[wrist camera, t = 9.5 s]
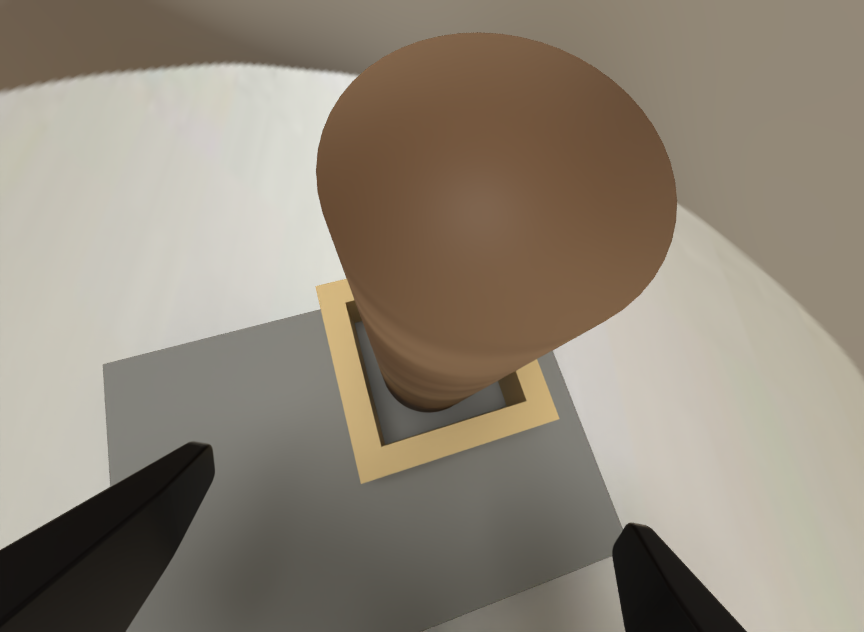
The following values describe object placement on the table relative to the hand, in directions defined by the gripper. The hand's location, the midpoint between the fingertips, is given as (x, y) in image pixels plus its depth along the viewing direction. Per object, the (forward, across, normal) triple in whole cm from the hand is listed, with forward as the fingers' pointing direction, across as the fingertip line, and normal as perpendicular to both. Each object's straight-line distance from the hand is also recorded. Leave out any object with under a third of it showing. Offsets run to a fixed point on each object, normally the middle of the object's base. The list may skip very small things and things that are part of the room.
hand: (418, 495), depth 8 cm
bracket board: (+7, +2, +7) cm, 11 cm away
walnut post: (+10, 0, +3) cm, 10 cm away
